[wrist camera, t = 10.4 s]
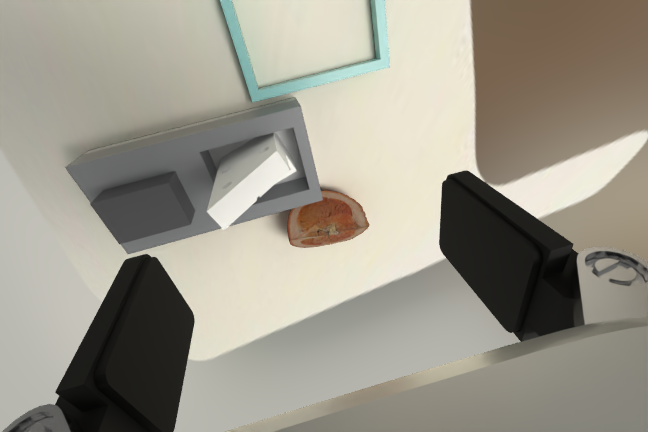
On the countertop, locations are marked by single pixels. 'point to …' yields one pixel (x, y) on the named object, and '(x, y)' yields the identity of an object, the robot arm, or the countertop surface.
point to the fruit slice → (326, 221)
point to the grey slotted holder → (189, 175)
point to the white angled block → (248, 176)
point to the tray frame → (315, 79)
